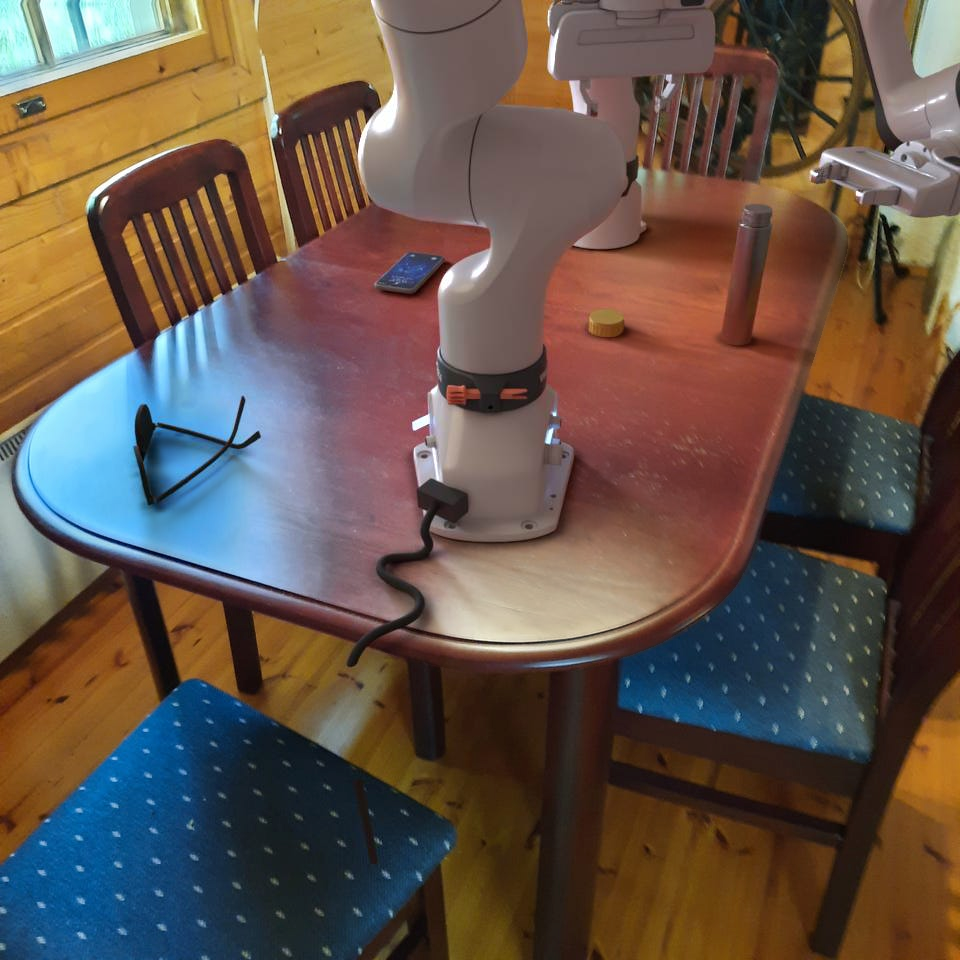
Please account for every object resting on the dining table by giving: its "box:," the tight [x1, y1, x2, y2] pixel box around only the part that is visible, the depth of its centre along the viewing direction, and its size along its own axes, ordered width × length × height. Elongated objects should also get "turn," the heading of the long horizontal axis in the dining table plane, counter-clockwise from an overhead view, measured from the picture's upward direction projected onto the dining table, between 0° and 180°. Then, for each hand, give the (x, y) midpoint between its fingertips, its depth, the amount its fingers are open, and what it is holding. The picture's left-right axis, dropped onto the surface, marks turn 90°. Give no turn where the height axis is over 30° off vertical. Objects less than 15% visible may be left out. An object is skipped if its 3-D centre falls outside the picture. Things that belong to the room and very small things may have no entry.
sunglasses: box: [132, 395, 262, 506], centre depth 100 cm, size 17×14×5 cm
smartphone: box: [373, 251, 446, 295], centre depth 143 cm, size 7×1×15 cm
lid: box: [587, 308, 625, 338], centre depth 126 cm, size 5×5×2 cm
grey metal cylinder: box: [720, 203, 774, 347], centre depth 117 cm, size 4×4×19 cm
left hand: (626, 114), depth 108 cm, fingers open, 8 cm apart
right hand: (835, 186), depth 114 cm, fingers open, 8 cm apart
